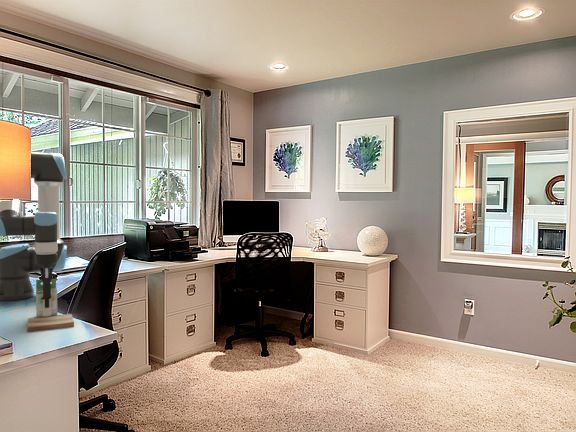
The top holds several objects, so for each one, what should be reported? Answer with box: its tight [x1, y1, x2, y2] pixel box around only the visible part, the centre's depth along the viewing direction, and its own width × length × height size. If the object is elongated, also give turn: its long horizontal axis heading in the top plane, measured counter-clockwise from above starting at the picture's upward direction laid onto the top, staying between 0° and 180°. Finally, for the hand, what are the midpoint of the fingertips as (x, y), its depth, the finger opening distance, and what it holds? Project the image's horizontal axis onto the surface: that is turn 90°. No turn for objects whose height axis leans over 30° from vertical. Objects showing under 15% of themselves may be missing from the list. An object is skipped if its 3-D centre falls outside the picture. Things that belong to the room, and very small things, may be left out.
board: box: [26, 313, 75, 333], centre depth 153 cm, size 12×14×2 cm
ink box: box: [35, 278, 58, 318], centre depth 164 cm, size 7×4×13 cm, turn 120°
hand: (46, 314), depth 164 cm, fingers closed on ink box, 4 cm apart
